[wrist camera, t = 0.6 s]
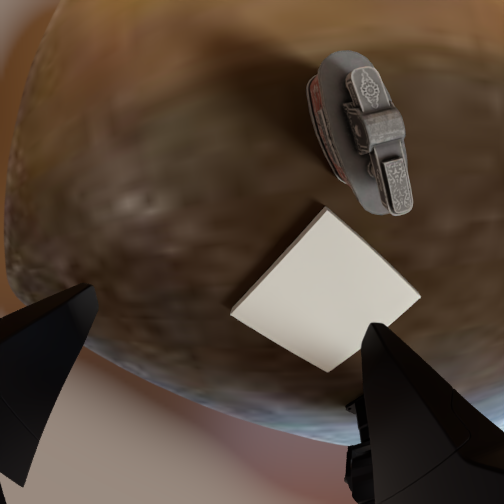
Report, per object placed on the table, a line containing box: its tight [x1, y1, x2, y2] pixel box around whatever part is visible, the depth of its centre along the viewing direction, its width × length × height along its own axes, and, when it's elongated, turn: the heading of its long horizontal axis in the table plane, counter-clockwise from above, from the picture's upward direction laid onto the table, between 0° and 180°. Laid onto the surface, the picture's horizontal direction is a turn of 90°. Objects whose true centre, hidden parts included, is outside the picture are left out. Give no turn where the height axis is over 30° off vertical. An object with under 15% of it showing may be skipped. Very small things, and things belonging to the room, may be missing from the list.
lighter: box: [306, 50, 413, 216], centre depth 14 cm, size 8×3×10 cm, turn 21°
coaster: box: [230, 206, 421, 372], centre depth 24 cm, size 12×12×1 cm
